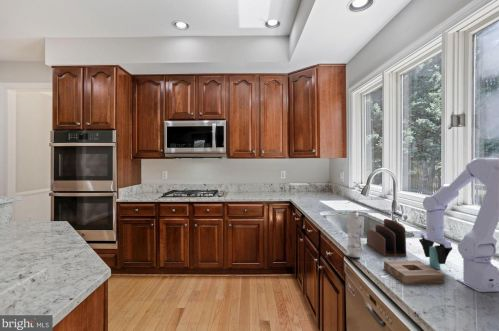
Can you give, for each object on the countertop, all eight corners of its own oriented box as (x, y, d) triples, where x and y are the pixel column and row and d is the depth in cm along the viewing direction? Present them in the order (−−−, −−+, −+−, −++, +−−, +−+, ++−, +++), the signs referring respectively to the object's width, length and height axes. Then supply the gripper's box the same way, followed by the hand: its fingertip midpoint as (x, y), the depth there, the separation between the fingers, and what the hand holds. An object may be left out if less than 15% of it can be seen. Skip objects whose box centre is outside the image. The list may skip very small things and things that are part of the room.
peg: (442, 269, 109) (442, 248, 109) (433, 269, 109) (433, 249, 109) (435, 265, 113) (435, 246, 113) (427, 265, 113) (427, 246, 113)
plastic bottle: (358, 254, 127) (358, 211, 127) (364, 259, 120) (364, 213, 120) (344, 254, 127) (344, 211, 127) (350, 259, 120) (350, 214, 120)
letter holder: (385, 243, 144) (385, 216, 144) (406, 256, 124) (406, 225, 124) (366, 243, 144) (366, 216, 144) (384, 256, 124) (384, 225, 124)
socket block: (444, 283, 97) (444, 274, 97) (405, 284, 96) (405, 275, 96) (417, 267, 111) (417, 260, 111) (383, 268, 110) (383, 261, 110)
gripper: (413, 222, 118) (413, 254, 118) (438, 231, 103) (438, 267, 103) (429, 222, 118) (429, 253, 118) (456, 230, 104) (456, 266, 104)
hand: (434, 260), depth 111 cm, fingers open, 7 cm apart
